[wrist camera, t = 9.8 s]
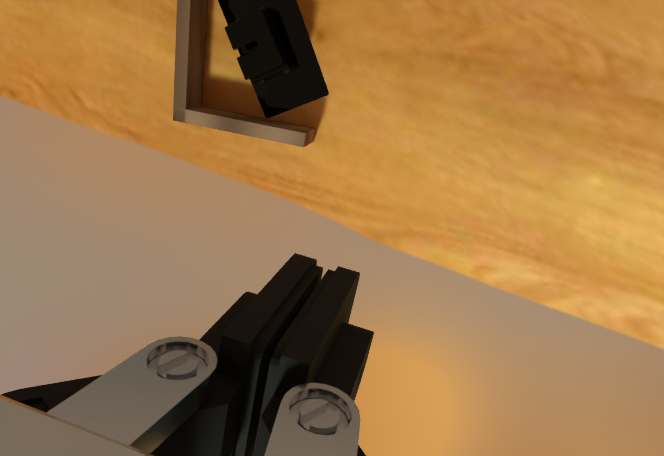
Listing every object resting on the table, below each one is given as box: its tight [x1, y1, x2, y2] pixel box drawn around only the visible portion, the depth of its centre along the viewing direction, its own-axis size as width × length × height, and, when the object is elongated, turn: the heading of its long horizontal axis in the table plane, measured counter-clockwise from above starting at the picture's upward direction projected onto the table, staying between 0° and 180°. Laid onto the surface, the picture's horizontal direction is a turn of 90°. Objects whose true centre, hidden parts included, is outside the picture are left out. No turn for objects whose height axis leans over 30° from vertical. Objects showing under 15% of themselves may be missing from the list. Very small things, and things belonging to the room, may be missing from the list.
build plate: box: [218, 0, 329, 118], centre depth 35 cm, size 12×7×5 cm, turn 22°
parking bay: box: [173, 0, 315, 147], centre depth 35 cm, size 10×18×2 cm, turn 172°
